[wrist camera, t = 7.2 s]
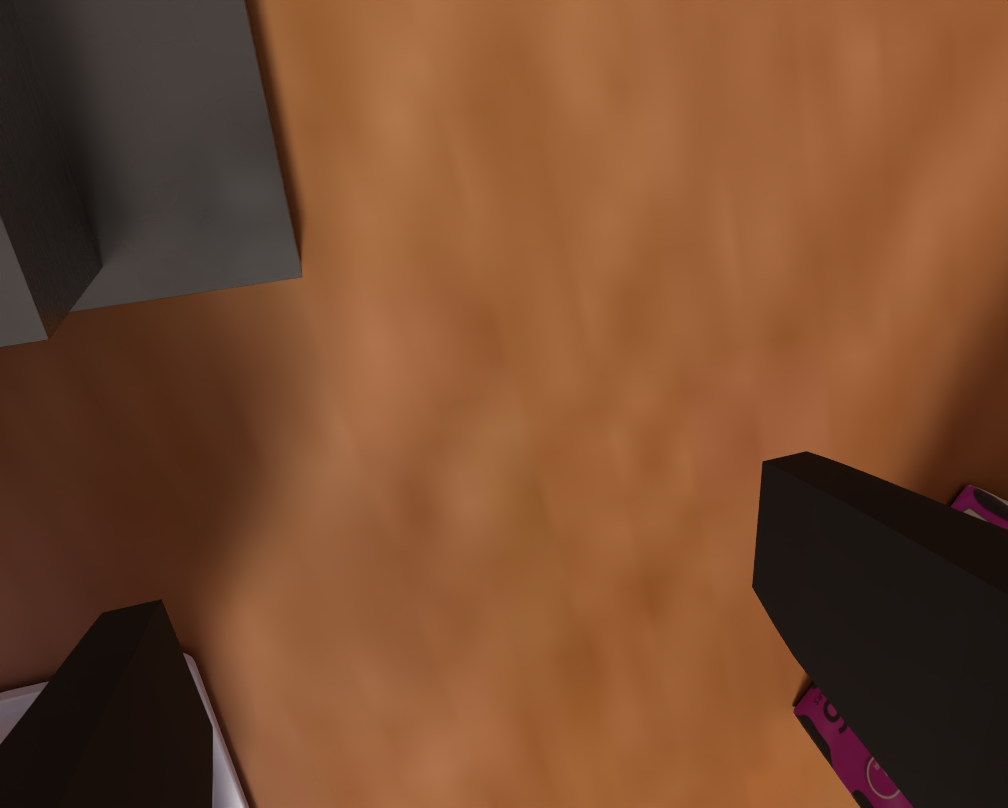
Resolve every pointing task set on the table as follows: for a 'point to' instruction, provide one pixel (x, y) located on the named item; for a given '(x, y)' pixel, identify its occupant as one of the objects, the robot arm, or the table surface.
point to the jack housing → (133, 158)
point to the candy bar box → (833, 735)
